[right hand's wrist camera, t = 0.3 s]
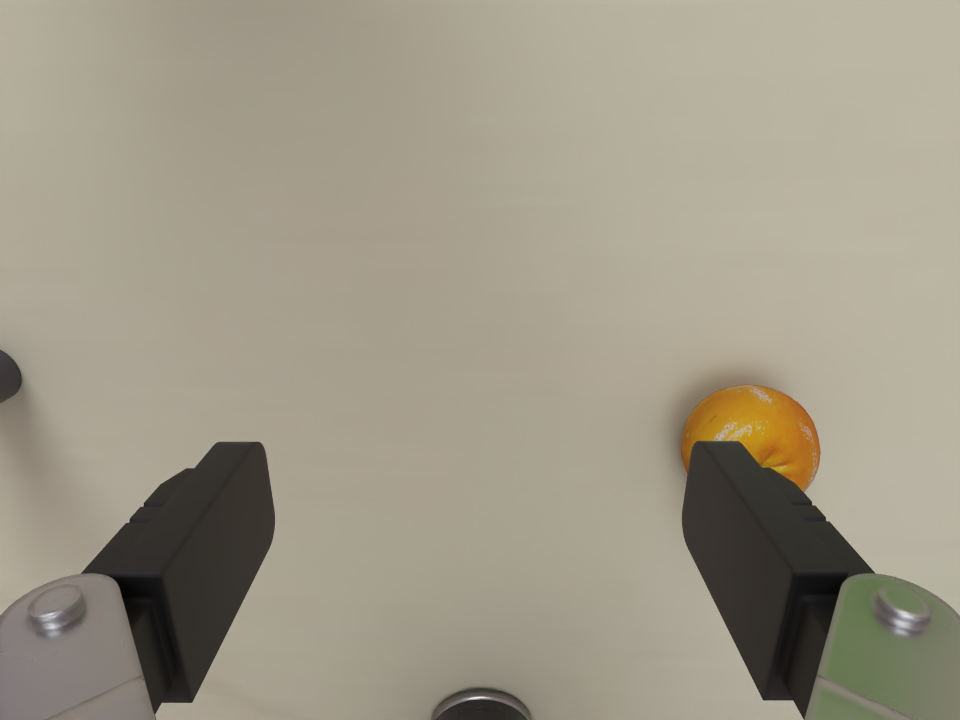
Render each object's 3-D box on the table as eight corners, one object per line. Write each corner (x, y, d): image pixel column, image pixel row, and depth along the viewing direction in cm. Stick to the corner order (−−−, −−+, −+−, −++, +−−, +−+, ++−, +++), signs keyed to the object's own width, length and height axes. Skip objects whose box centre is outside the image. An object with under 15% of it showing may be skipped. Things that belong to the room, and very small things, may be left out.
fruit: (709, 362, 38) (774, 475, 33) (805, 363, 41) (876, 466, 37) (641, 432, 44) (688, 536, 39) (729, 428, 47) (782, 523, 43)
